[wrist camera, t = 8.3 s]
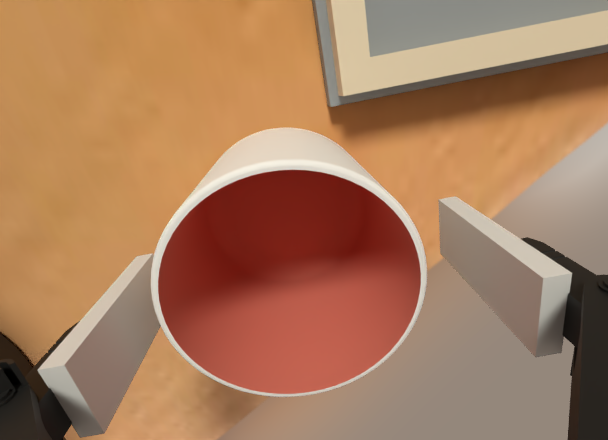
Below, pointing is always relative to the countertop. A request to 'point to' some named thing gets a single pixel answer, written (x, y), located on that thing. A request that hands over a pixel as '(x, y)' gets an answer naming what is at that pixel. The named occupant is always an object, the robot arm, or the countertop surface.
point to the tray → (447, 41)
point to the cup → (288, 268)
